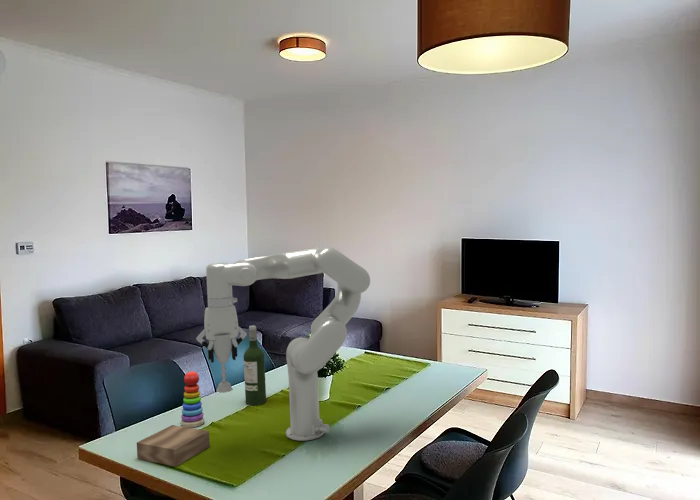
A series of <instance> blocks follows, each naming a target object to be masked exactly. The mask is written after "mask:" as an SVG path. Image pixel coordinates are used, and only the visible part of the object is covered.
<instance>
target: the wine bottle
mask: <svg viewBox="0 0 700 500" xmlns="http://www.w3.org/2000/svg"><path fill="white" fill-rule="evenodd" d="M248 331H249V332H248V333H249V334H248V335H249V347H248V348H247V349H246V350H245V352H244V354H243V373H244V375H243V376H244V392H245V393H244V397H245V404H246V405H247V406H253V407H255V405H256V406H261V405H264V404H265V403H266V401H267V389H266V387H267V386H266V385H267V384H266V366H265V353H264V351H263V350H262V349H261V348H260V347H259V346H258V337H257V336H258V335H257V326H256V325H249V327H248Z"/></svg>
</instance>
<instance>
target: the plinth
mask: <svg viewBox="0 0 700 500" xmlns="http://www.w3.org/2000/svg"><path fill="white" fill-rule="evenodd" d="M210 444H211V442H210V431H209V430H207V429H206V430H205V429H198V428H195V427H192V428H187V427H183V426H182V425H181V426H180V425H174V424H171V425H170V426H168V427H165V428H163V429H161V430H160V431H159V430H158V432H155V433H153V434H151V435H149V436H147V437H145V438H143V439H141V440H139V441H137V442H136V453H137V454H136V457H137V458H136V459H138V460H141V461H147V462H152V463H157V464H161V465H166V466H171V467H175V468H176V467H178V466H180V465H182V464H183V463H185V462H186V461H188V460H190V459H191V458H193V457H195V456H196V455H198V454H199V453H201V452H203V451H205V450H207V449H208V448H210V447H211V445H210Z"/></svg>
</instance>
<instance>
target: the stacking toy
mask: <svg viewBox="0 0 700 500" xmlns="http://www.w3.org/2000/svg"><path fill="white" fill-rule="evenodd" d="M183 379H184V383H185V384H186V385H185V386H184V388H183V389H184V392H183V400H182V401H183V403H182V410H181V413H182V414H181V416H180V417H181V421H180V424H181V427H187V428H196V427H200V426H202V425H203V424H204V423H205V418H204V412H203V407H202V404H203V403H202V401H201V400H202V397H201V391H200V385H199V384H198V383H199V381H200V376H199V373H198V372H196V371H193V370H191V371H188V372H187V373H186V374H184V377H183Z"/></svg>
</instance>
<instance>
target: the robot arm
mask: <svg viewBox="0 0 700 500" xmlns="http://www.w3.org/2000/svg"><path fill="white" fill-rule="evenodd" d="M205 268H206V270H205V271H206V292H207V307H205V309H204V320H203V321H204V325H203V326H204V327H203V328H204V329H203V330H202V331H201V332H200V333H199V334H198V335H197V337H196V339H195V340H196V341H197V342H198V343H200V344H201V345H202V346H203V347H204V348H206V349H207V356H208V357H207V358H208V360H210V362H211V363H212V364H213V363H215V357H214V356H215V354H214V351H213V343H214V340H215V338H214V336H221V335H228V334H231V335H230V339H231V340H232V350H231V359H232V360H233V361H236V359H237V357H238V346H239V345H240V344H241V343H242V341H243V340H244V339H245V338H246V337H247V335H248V333H247V332H246V331H245V330H243V328H241V326H239V320H238V314H237V310H236V305H234V304H235V303H238V298H237V297H234V296H233V286H239V287H247V286H251V285H252V284H254V283H255V282H256V281H259V280H268V279H282V280H283V279H284V280H287V279H295V278H301V277H306V276H311V275H317V274H325V275H326V276H328V277H329V278H330V279H332V280H333V281H335V282H336V284H337V292H336V295H335V296H334V298H333V299H332V300H331V302H330V303H329V304H328V305H327V306H326V308H324V309H323V311H321V312H320V314H319V315H318V316H317V317H316V318H314V320H313V321H312V322H311V326H310V332H311V336H309V338H307V337H304V336H303V337H302V336H301V337H296V338H293V339H292V340H291V341H290V342H289V343H288V346H287V348H286V352H285V359H286V366H287V367H286V368H287V374H288V391H289V392H288V394H289V396H288V397H289V419H290V426H289V427H288V428H287V429H286V431H285V434H286V437H287V438H288V439H290V440H293V441H298V442H299V441H301V442H303V441H311V440H316V439H319V438H320V437H322V436H324V434H325V433H326V434H329V433H330V424H327V423H325V424H324V423H323V418H320V402H319V401H320V400H319V399H320V398H319V397H320V396H319V378H318V377H319V376H318V372H319V370H322V368H323V367H324V366H325V365H326V364H327V363H328V362H329V361H330V359H331V358H332V357H333V356H334V355H335V354H336V353H337V352H338V350H340V348H341V347H342V346H343V344H345V341H346V338H347V335H348V331H347V330H348V329H347V326H346V325H347V324H348V323H349V321H350V320H351V319H352V317H353V316H354V315H355V314H356V313H357V310H359V306H360V303H361V299H362V298H361V297H362V294H363V293H365V292H366V291H367V290H368V289H369V287H370V285H371V277H370V275H369V272H368V271H367V270H366V269H365V268H363V267H362V266H361V265H360V264H358V263H356V262H355V261H354V260H352V259H350V258H349V257H347V256H346V255H345V254H343V253H342V252H340V251H339V250H338V249H336V248H334V247H331V246H330V247H329V246H317V247H313V248H307V249H305V248H304V249H300V250H294V251H287V252H281V253H276V254H271V255H265V256H258V257H251V258H245V259H240V260H237V261H235V262H233V263H227V262H217V263H215V262H214V263H210V264H208V265H207V266H206V267H205ZM239 333H240V334H239ZM213 335H214V336H213ZM203 338H206V340H207V341H205V339H203Z"/></svg>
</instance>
